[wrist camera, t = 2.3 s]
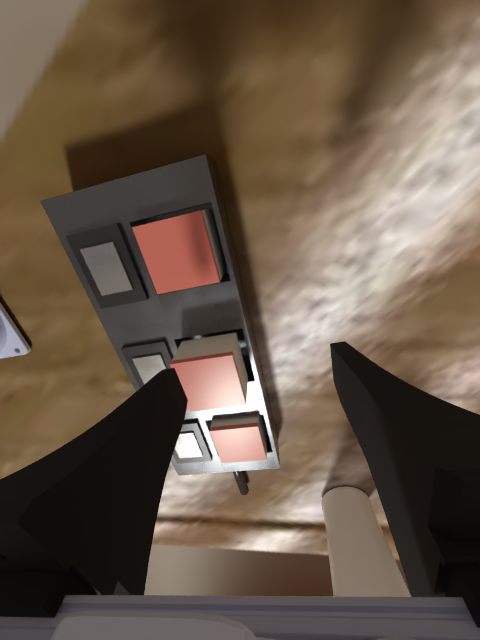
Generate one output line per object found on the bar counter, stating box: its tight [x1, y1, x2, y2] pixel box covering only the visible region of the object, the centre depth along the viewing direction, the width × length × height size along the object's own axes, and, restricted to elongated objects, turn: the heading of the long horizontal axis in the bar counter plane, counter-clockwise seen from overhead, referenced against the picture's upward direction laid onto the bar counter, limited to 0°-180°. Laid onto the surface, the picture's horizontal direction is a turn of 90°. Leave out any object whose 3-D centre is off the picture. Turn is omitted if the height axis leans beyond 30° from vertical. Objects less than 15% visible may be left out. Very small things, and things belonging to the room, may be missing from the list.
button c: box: [132, 208, 225, 294], centre depth 16 cm, size 4×4×3 cm
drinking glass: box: [322, 487, 411, 597], centre depth 23 cm, size 7×7×15 cm
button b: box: [170, 333, 248, 412], centre depth 18 cm, size 4×4×3 cm
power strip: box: [41, 154, 280, 495], centre depth 22 cm, size 10×32×3 cm, turn 13°
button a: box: [210, 414, 267, 463], centre depth 23 cm, size 4×4×3 cm
